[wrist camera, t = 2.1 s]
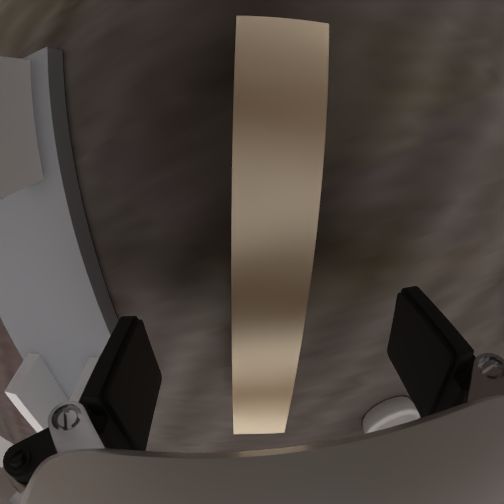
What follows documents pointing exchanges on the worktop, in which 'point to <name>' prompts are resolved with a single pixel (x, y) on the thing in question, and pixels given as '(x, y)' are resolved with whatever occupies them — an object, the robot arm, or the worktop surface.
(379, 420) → the bottle
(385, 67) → the worktop surface
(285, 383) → the slat
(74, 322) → the grey holder stand
